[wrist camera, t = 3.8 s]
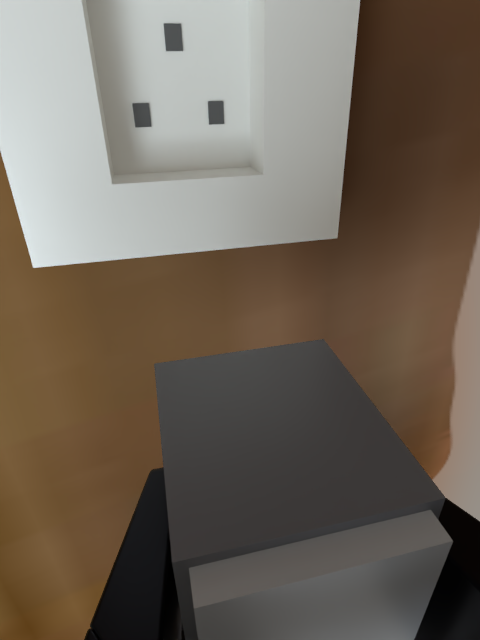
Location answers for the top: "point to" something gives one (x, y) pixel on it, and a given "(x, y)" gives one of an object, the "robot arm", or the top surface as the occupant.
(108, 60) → the socket plate
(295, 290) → the top surface
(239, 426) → the plug
